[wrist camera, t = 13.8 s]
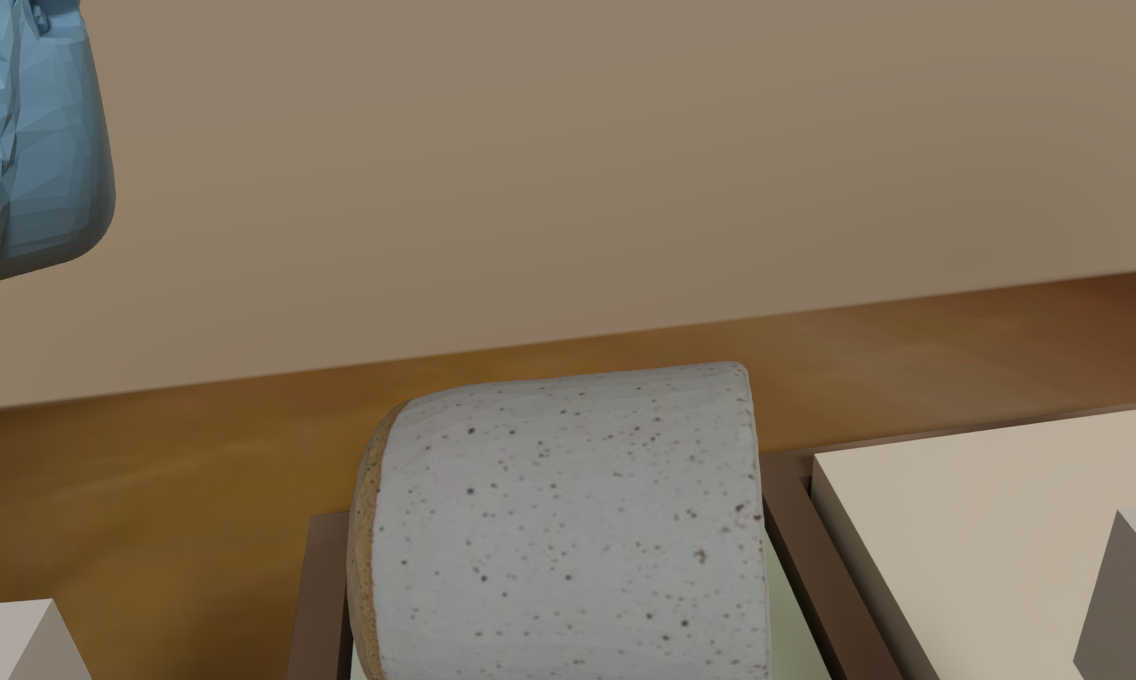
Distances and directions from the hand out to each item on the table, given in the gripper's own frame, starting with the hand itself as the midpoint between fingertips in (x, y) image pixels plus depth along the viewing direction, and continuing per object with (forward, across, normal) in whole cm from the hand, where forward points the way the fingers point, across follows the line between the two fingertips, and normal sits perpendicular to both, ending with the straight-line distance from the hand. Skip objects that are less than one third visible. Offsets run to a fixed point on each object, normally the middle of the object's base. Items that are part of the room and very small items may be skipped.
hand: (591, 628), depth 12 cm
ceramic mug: (+5, 0, -9) cm, 10 cm away
